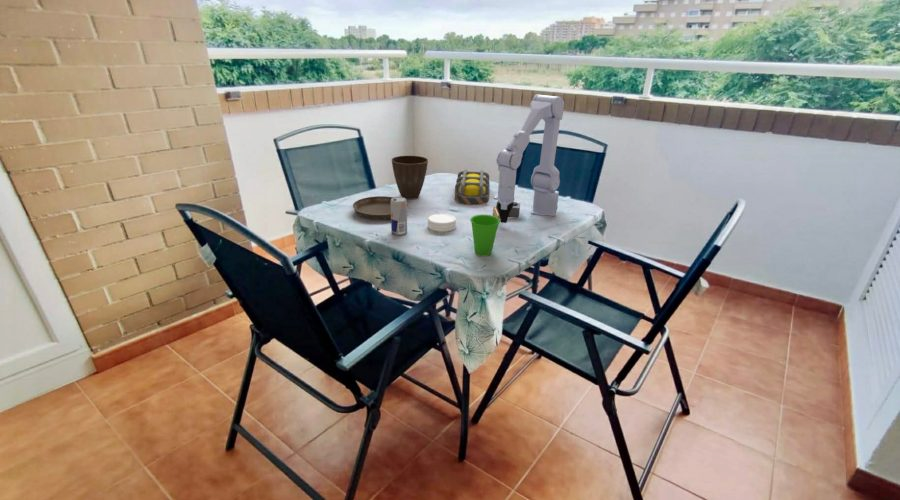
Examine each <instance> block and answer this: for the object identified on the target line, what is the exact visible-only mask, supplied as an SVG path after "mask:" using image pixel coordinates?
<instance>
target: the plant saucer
mask: <svg viewBox="0 0 900 500" xmlns="http://www.w3.org/2000/svg"><path fill="white" fill-rule="evenodd" d="M392 198H394V197H393V196H386V195H385V196H380V195H379V196H368V197H364V198H360V199H358V200H356V201H355V202H354V203H353V204H352V208H353V210H354V211H355V212H356V213H357V214H358V215H359V216H361V217H363V218H365V219H369V220H375V221H377V220H378V221H379V220H391V204H390V202H391V199H392Z"/></svg>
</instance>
